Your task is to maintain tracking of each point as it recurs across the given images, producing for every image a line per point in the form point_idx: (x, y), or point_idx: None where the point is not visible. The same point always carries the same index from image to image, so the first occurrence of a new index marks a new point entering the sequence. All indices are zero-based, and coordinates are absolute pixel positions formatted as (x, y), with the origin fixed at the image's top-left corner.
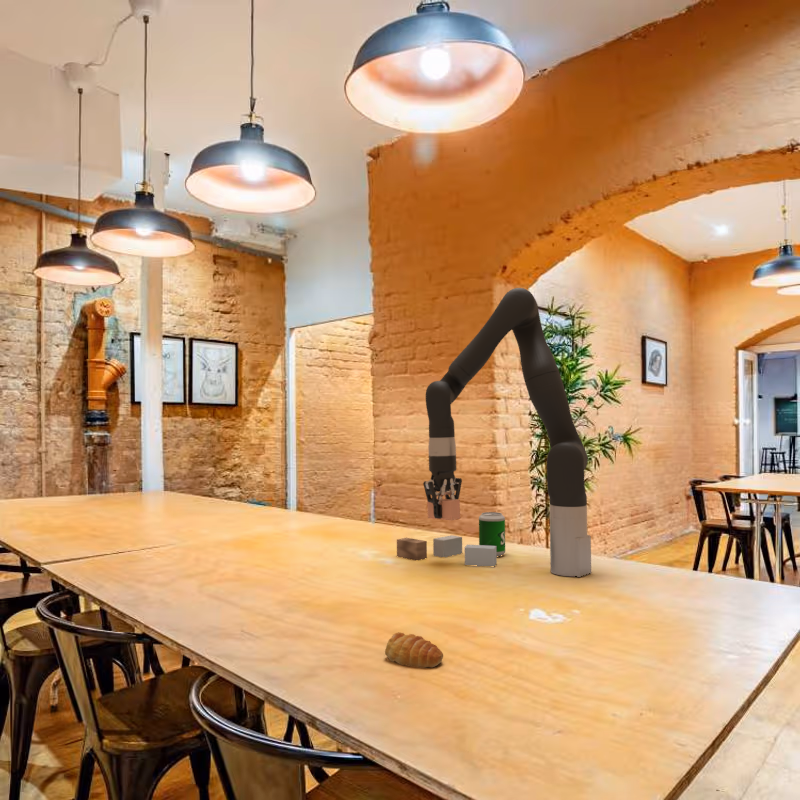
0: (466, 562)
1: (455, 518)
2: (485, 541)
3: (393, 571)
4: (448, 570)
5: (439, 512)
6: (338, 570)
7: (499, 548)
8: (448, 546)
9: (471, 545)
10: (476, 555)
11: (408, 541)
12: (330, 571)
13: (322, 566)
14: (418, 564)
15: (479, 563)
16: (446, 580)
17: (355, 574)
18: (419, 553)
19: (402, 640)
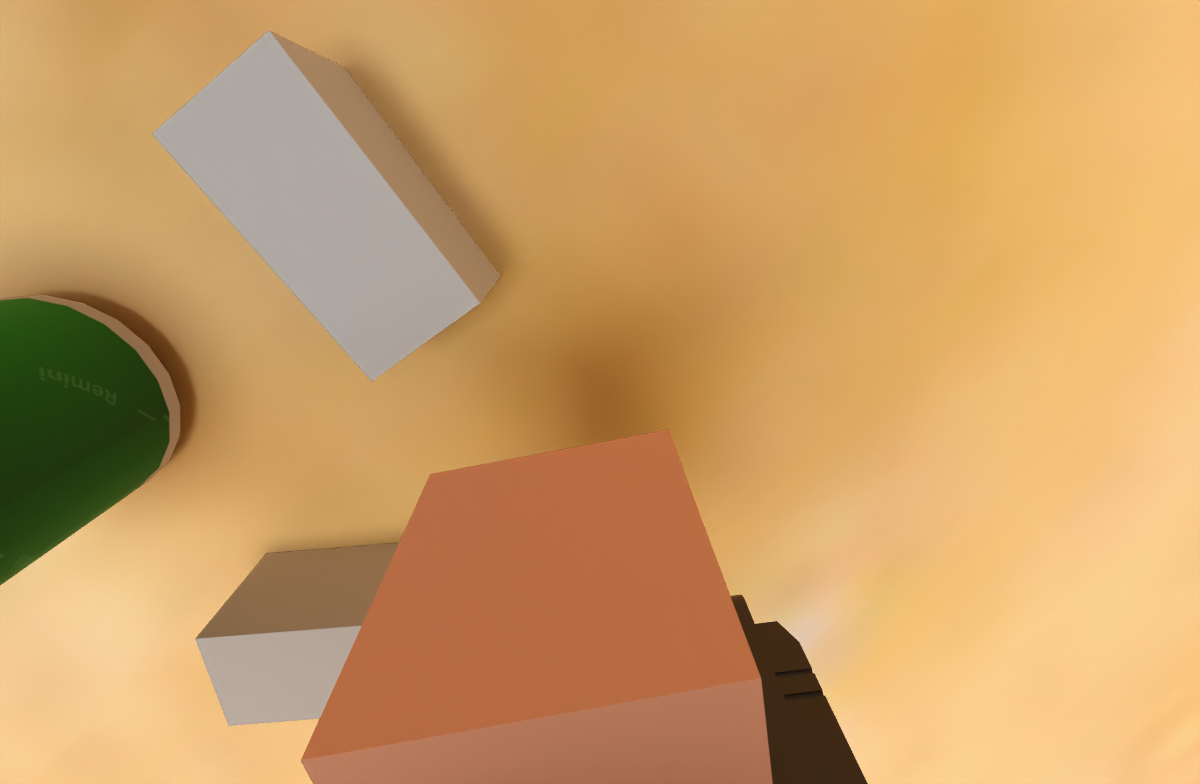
0: (489, 268)
1: (559, 458)
2: (93, 414)
3: (967, 450)
4: (701, 240)
5: (765, 669)
6: (1128, 639)
7: (23, 308)
8: None
9: (365, 325)
10: (422, 201)
11: None
12: (1169, 645)
13: (1101, 741)
14: (719, 495)
15: (422, 177)
16: (951, 5)
17: (1155, 523)
18: None
19: None
